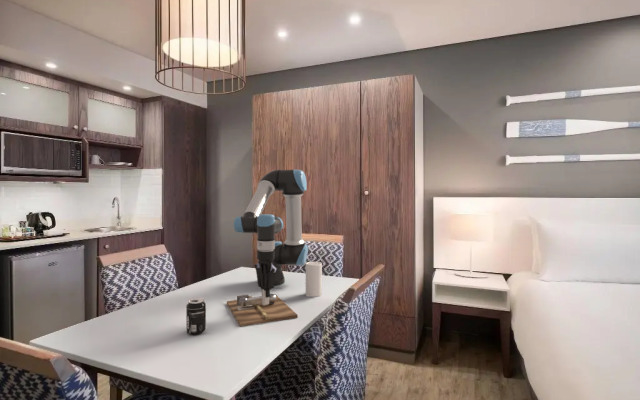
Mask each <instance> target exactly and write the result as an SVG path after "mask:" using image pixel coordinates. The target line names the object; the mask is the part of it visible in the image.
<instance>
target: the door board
mask: <svg viewBox="0 0 640 400" xmlns="http://www.w3.org/2000/svg"><path fill="white" fill-rule="evenodd" d="M275 295H276V294H275ZM242 297H246V298H251V297H253V296H252V295H249V294H243V295H242V294H241V295H236V299H233V300H226V306H228V308H229V310H230V312H231V313H232V316H233V317H234V319H235V321H236V322H237V324H238V327H240V328H241V327H247V326H254V325H259V324H260V325H261V324H266V323H271V322H279V321H284V320H290V319H297V318H298V317H299V315H298V314H297V312H295V311H294V310H293V309H292V308H291V307H290V306H289V305H288V304H287V303H285V302H284V300H282V299H281V298H280V297H279V296H278V295H276V301H275V302H269V304H267V305H262V303H261V304H255V305H249V306H243V307H241V306H240V305H239V299H240V298H242Z"/></svg>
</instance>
